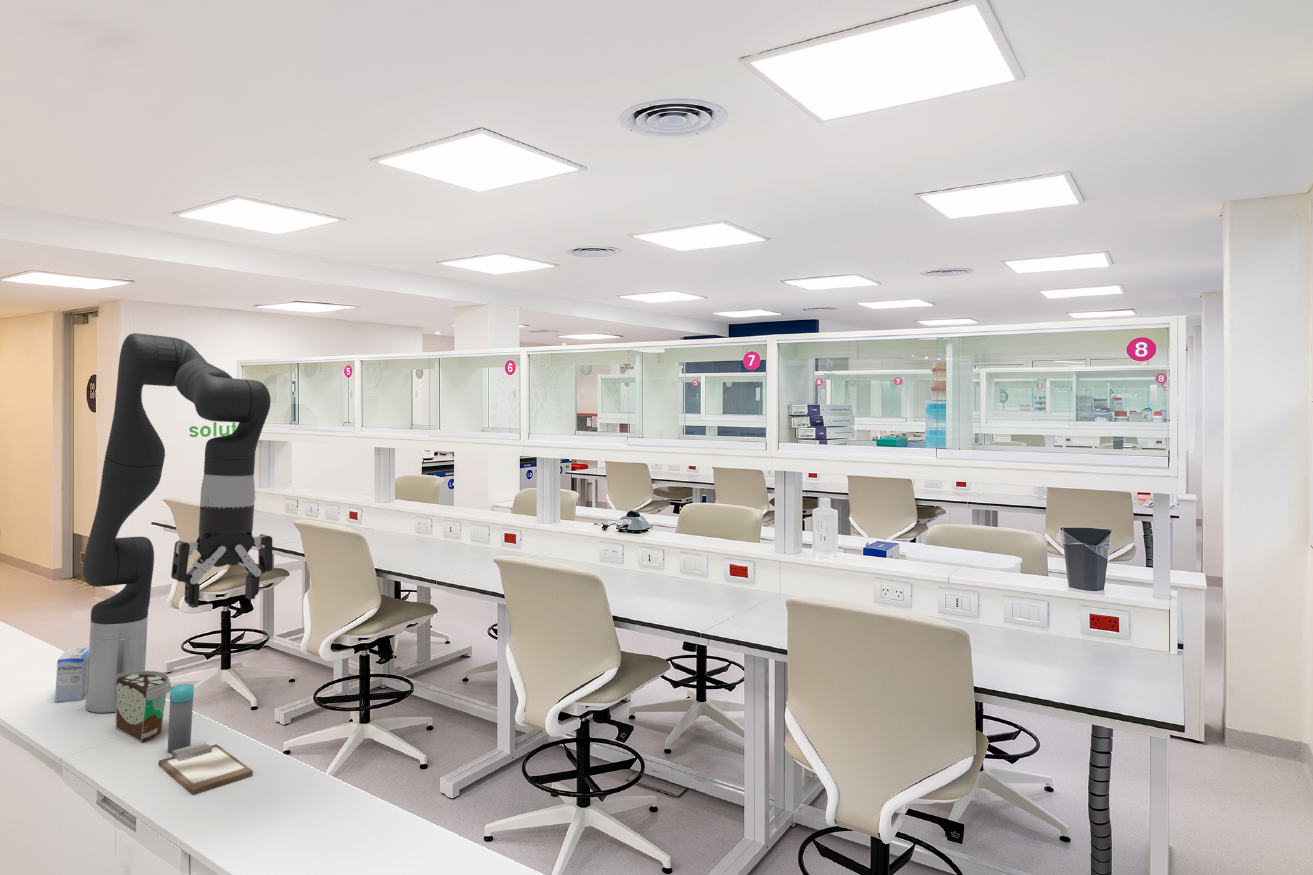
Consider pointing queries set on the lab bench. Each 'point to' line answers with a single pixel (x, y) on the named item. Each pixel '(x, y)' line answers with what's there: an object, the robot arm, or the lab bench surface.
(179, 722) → the marker
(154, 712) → the food container
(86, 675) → the medicine box
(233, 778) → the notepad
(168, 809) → the lab bench surface
